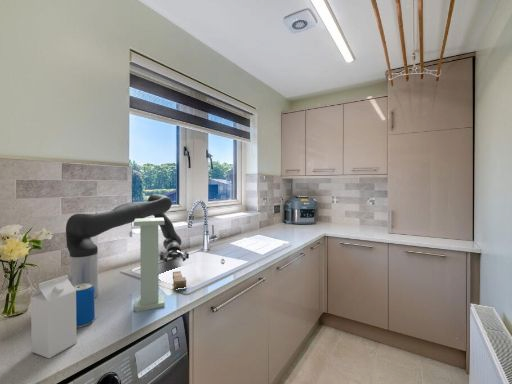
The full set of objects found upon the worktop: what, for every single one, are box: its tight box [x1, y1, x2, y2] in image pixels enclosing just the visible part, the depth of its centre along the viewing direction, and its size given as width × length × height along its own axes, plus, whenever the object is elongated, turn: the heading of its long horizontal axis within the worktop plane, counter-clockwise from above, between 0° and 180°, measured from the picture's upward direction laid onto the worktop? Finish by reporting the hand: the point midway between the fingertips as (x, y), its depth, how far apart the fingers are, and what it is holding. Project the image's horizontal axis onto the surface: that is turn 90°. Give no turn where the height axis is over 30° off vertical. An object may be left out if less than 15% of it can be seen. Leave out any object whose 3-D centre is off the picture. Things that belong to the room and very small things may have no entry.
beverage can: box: [74, 283, 96, 328], centre depth 82 cm, size 6×6×12 cm
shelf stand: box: [133, 217, 166, 312], centre depth 95 cm, size 9×10×32 cm
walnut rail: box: [172, 270, 187, 291], centre depth 117 cm, size 16×5×4 cm, turn 23°
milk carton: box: [30, 274, 77, 359], centre depth 70 cm, size 7×7×19 cm
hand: (175, 259), depth 127 cm, fingers open, 8 cm apart
